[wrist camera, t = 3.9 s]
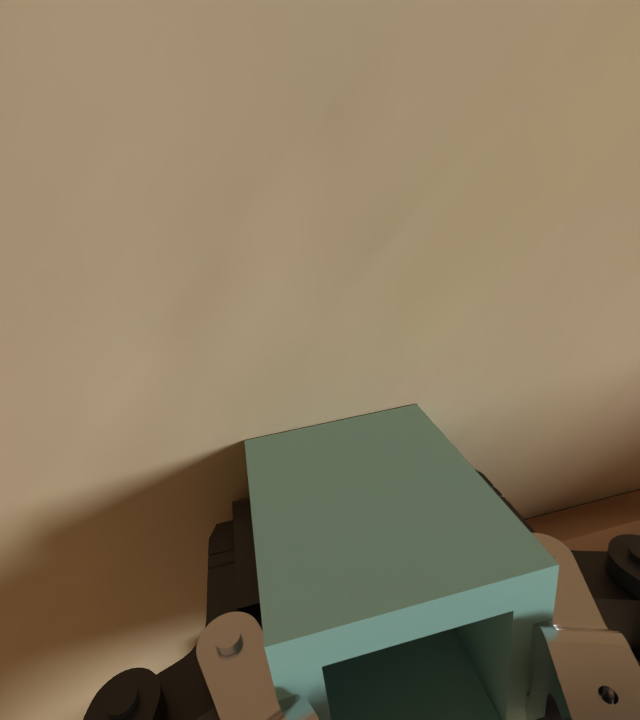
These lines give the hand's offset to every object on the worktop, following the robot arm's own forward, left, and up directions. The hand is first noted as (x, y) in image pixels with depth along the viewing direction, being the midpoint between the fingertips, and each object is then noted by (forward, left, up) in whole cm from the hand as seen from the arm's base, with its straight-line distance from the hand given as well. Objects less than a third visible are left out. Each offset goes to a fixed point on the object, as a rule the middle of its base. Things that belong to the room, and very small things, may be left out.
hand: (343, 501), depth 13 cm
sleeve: (0, 0, 0) cm, 0 cm away
